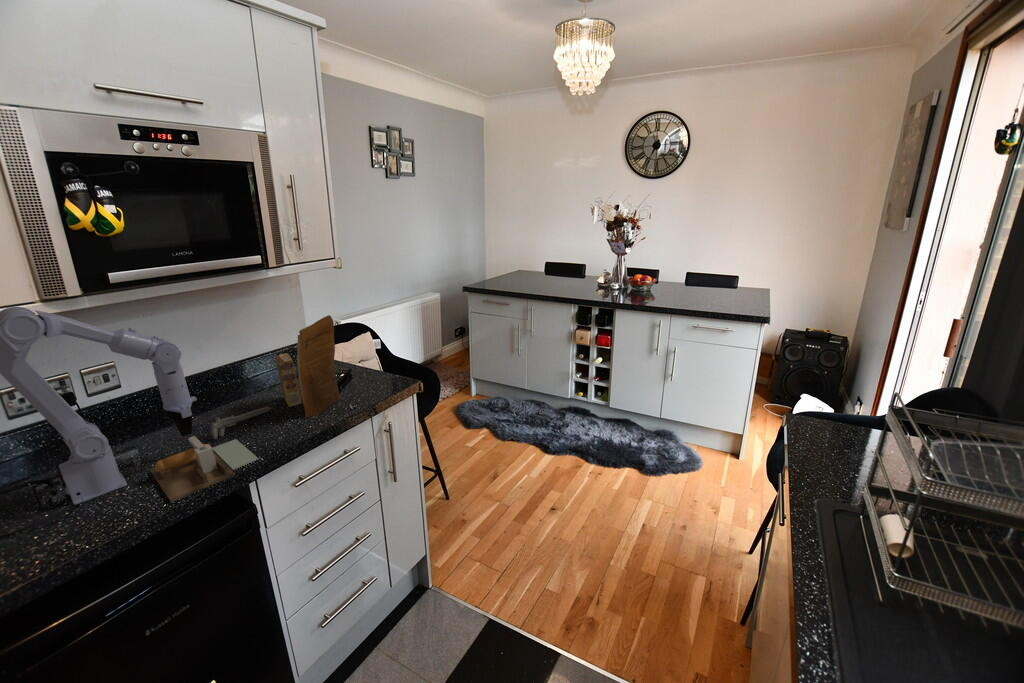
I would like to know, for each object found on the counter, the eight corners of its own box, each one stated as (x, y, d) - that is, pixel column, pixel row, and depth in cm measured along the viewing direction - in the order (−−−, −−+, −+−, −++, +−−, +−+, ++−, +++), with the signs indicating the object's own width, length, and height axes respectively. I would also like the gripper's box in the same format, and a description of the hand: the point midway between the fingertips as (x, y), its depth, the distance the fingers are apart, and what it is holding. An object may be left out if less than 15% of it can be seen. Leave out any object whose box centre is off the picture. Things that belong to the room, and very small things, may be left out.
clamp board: (170, 502, 102) (167, 492, 102) (150, 471, 115) (147, 462, 114) (234, 475, 111) (232, 466, 111) (209, 449, 124) (206, 441, 123)
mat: (233, 470, 113) (232, 469, 113) (212, 449, 124) (211, 448, 124) (258, 460, 118) (258, 458, 117) (236, 440, 128) (235, 438, 128)
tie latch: (203, 474, 111) (197, 453, 109) (190, 458, 118) (184, 439, 116) (217, 468, 113) (212, 448, 111) (203, 453, 120) (198, 434, 118)
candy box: (302, 403, 149) (293, 359, 145) (288, 407, 147) (278, 362, 142) (296, 395, 156) (287, 352, 152) (282, 398, 154) (273, 355, 149)
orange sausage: (158, 476, 110) (155, 465, 109) (155, 471, 112) (152, 460, 111) (215, 454, 118) (212, 444, 117) (211, 450, 120) (208, 440, 119)
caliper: (216, 441, 129) (211, 421, 127) (213, 440, 129) (208, 420, 127) (272, 409, 147) (268, 391, 145) (270, 409, 147) (266, 390, 145)
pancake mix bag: (352, 394, 155) (339, 313, 146) (315, 421, 137) (297, 331, 129) (335, 393, 156) (321, 313, 148) (296, 419, 139) (278, 330, 130)
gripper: (199, 388, 115) (212, 436, 119) (183, 375, 124) (195, 420, 128) (166, 397, 110) (181, 448, 114) (151, 383, 119) (165, 430, 123)
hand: (186, 434), depth 121 cm, fingers closed
